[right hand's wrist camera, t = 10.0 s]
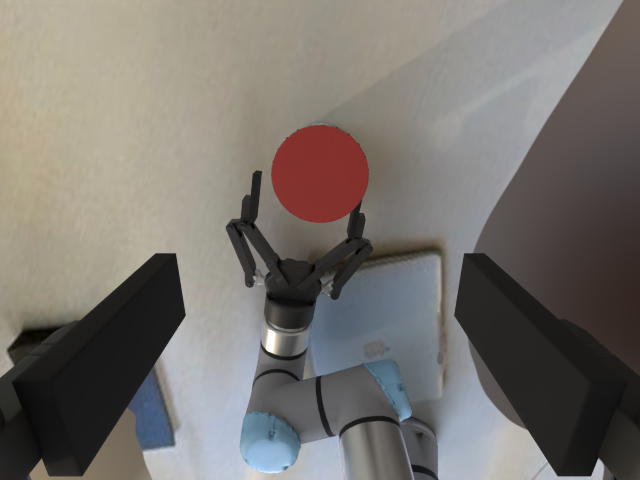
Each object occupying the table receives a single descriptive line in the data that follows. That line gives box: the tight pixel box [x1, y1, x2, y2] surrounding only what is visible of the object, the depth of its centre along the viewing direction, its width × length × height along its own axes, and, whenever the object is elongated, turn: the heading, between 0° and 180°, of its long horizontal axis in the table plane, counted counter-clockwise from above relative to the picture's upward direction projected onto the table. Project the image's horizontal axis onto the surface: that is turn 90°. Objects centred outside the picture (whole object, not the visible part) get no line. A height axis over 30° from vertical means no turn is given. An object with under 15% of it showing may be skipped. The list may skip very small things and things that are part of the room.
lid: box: [271, 124, 369, 223], centre depth 36 cm, size 10×10×2 cm
